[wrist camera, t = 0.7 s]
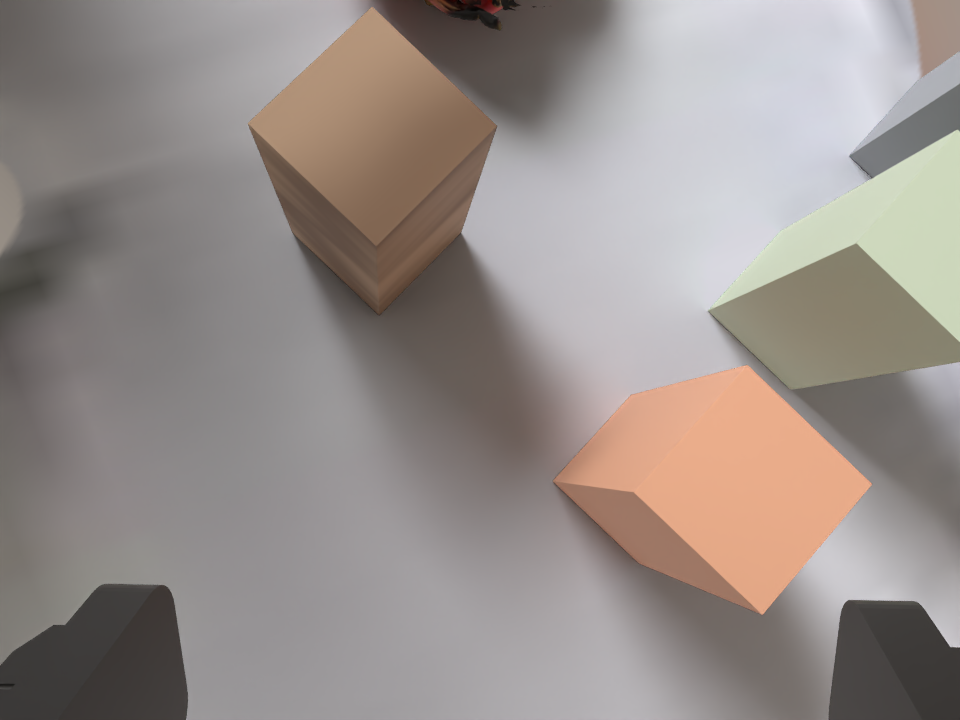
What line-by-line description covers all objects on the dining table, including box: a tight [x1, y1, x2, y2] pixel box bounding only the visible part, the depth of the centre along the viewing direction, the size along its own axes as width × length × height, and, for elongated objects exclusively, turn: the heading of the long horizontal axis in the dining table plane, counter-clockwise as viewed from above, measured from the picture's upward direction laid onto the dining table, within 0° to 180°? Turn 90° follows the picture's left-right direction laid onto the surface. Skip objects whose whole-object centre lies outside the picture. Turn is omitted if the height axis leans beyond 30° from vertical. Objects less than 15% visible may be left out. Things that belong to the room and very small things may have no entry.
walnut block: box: [248, 7, 497, 315], centre depth 26 cm, size 4×4×10 cm
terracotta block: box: [553, 365, 872, 615], centre depth 26 cm, size 4×4×10 cm
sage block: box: [708, 130, 960, 390], centre depth 27 cm, size 4×4×10 cm
